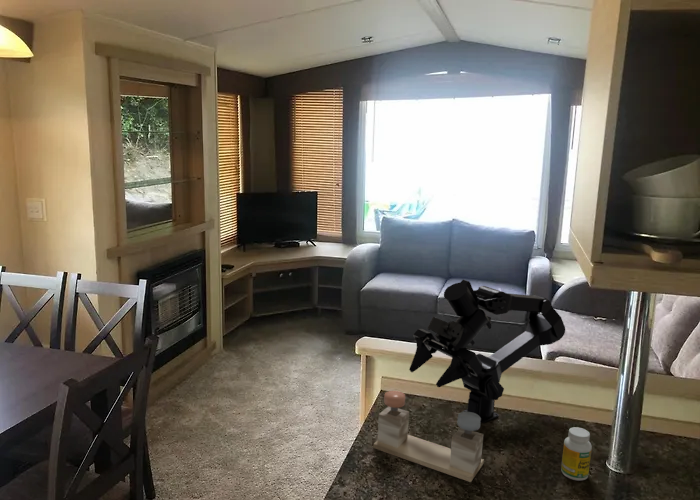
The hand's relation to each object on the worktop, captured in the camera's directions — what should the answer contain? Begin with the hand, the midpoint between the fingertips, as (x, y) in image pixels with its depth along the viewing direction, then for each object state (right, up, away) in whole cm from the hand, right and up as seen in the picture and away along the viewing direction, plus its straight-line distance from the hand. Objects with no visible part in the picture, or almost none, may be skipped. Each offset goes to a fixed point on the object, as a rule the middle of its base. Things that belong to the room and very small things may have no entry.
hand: (423, 378), depth 129 cm
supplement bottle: (+30, -18, -10) cm, 36 cm away
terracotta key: (-7, -7, -3) cm, 10 cm away
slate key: (+8, -9, -11) cm, 17 cm away
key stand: (0, -16, -6) cm, 16 cm away
